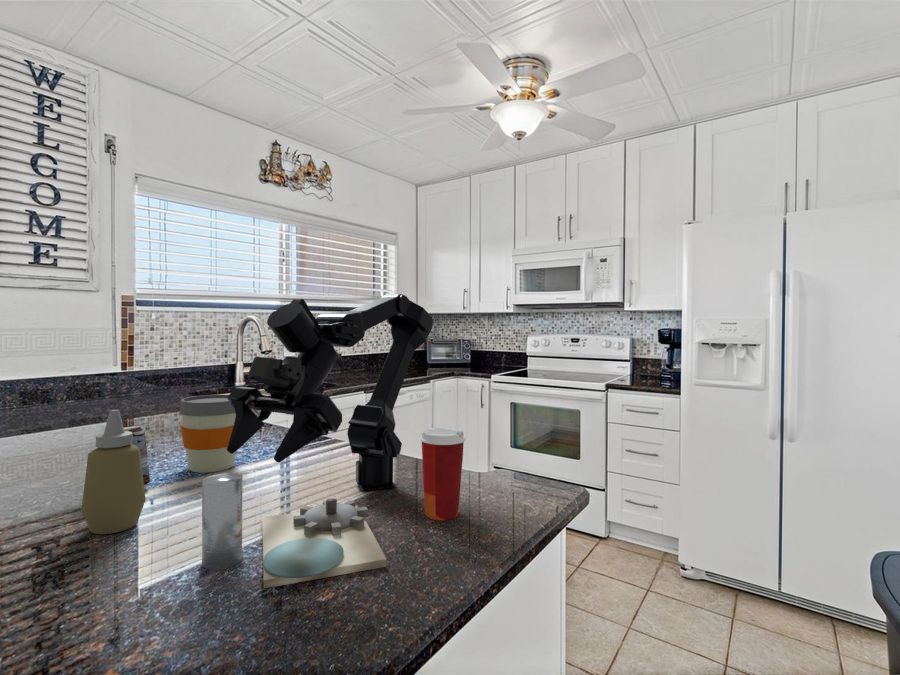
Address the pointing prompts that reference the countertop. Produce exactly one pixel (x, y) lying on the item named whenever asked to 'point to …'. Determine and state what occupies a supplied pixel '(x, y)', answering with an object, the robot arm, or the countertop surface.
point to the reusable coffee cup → (207, 432)
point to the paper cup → (442, 471)
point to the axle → (222, 520)
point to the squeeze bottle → (113, 480)
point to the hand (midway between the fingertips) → (252, 456)
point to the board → (318, 544)
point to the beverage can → (141, 450)
